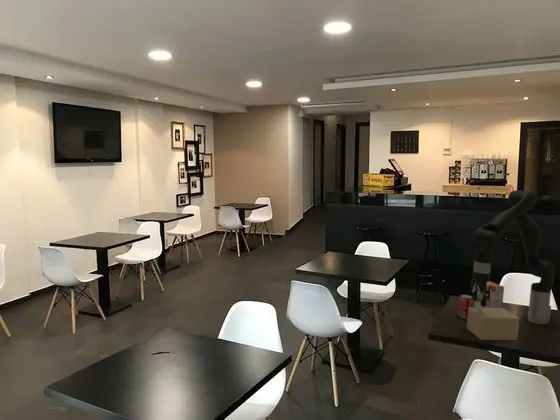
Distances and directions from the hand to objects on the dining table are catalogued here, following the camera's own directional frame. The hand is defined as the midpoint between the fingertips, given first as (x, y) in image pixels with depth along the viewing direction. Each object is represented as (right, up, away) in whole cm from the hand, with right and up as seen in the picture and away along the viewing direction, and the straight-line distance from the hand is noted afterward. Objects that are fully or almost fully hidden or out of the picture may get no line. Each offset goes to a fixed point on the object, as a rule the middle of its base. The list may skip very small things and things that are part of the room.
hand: (478, 303), depth 214 cm
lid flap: (+7, -6, +1) cm, 9 cm away
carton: (+7, -16, +2) cm, 17 cm away
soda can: (+3, -13, +24) cm, 27 cm away
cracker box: (+13, -14, +20) cm, 28 cm away
